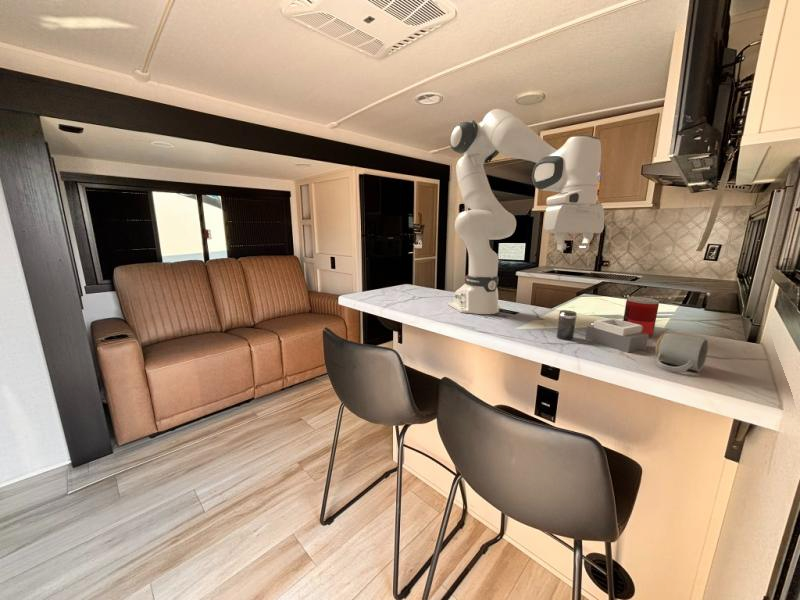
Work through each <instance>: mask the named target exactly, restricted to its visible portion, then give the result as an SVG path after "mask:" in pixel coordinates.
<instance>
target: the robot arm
mask: <svg viewBox="0 0 800 600" xmlns="http://www.w3.org/2000/svg"><path fill="white" fill-rule="evenodd" d="M449 144H450V148H451V149H452V150H453V151H454V152H455V153H458V154H460V155H463V156H462V157H460V158H459V159H458V160H457V162H456V165H455V171H456V181H457V184H458V189H459V191H460V195H461V199H462V201H463V204H464V206H466V207H467V208H468V209H469V210H465V211H461V212H459V214H458V215H457V216H456V219H455V222H454V230H455V232H456V235H457V236H458V237H459V238H460V239H461V240H462V241H463V243H464V245H465V247H466V250H467V254H468V255H467V256H468V274H467V275H463V276H464V278H463V279H465V281H464V284H463V285H462V286H461V287H459V288H457V290H456V291H455V292H454V295H453V296H454V297H453V300H452V301H448V303H447V305H448V306H450V307H452V308H453V309H455V310H456V311H458V312H460V313H463V314H464V313H465V314H477V315H493V314H494V315H495V314H498V313H499V312H500V308H501V307H500V305H499V289H498V287H497V286H498V285H499V276H498V272H499V271H498V270H499V255H498V253H496V252H495V251H494V250H493V248H491V244H490V240H495V241H496V240H503V239H506V238H509V237H511V236H512V235H513V234H514V233H515V231H516V227H517V219H516V217H515V215H514V214H512V213H511V212H510V211H508V210H506V208H504V206H503V205H502V204H501V202H499V200H498V199H497V198H496V196H495V194H494V193H493V191H492V188H491V186H490V182H489V179H488V177H487V174H486V172H485V168H484V164H488V163H491V162H492V160H493V159H495V158H496V157H497V156H498V155H499V154H502V155H504V156H506V157H509V158H513V159H518V160H519V159H520V160H526V161H528V162H532V163H536V164H535V165H534V167H533V170H532V172H531V180H532V184H533V186H534V187H535V188H536V189H538V190H540V191H544V192H545V191H547V192H551V193H555V192H556V193H557V194H554V195H551V196H548V197H547V198H546V199H545V200H546V206H547V208H546V209H545V214H544V224H543V228H544V231H545V232H546V234H554V239H555V243H556V250H558V251H566V249H567V243H565V239H564V238H565V237H566V234H582V237H583V240H582V242H581V243H579V244H580V245H579V249H580V250H589V249H590V243H591V242H592V240H593V238H594V234H602V233H603V230H604V229H605V209H604V207H603V204H602V203H601V201H600V200H597V199H598V190H599V183H598V182H599V181H598V175H599V171H600V170H601V163H602V144H601V140H600V139H599V138H598V137H597V136H594V135H589V134H587V135H585V134H581V135H580V134H579V135H574V136H573V135H572V136H570V137H569V138H567V140H566V141H565V143H564V144H563V145H562V146H560V148H556V147H555V146H553V145H552V144H550V143H549V142H547V141H546V140H545V139H543V138H542V137H541V136H539V135H538V134H537V133H536V132H535V131H534V130H532V128H530V127H529V126H528V125H527V124H525V123H524V122H523V121H522V120H521V119H519V118H518V117H517V116H516V115H514V114H513V113H511V112H510V111H507V110H504V109H502V108H494V109H491V110H489V112H487V113H486V114H485V116H484V117H483V119H482V121H481V122H476V121H475V120H470V121H469V120H467V121H463V122H459V123H457V124H456V125H455V126H453V128H452V131H451V132H450V136H449Z"/></svg>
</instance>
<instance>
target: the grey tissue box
mask: <svg viewBox="0 0 800 600" xmlns="http://www.w3.org/2000/svg"><path fill="white" fill-rule="evenodd" d="M641 328H642V325H639V324H634V323H630V322H626V321H623V319H618V318H613V317H611V318H604V319H598V320H594V322H591V324H590V325H587V326H586V332H585V333H586V334H585V340H589V341H591V342H595V343H598V344H599V345H604V346H607V347H610V348H613V349H616V350H619V351H622V352H626V353H632V352H637V351H641V350H645V349H647V347H648V346H647V345H648V340H649V337H648V336H649V334H645V333H642V332H641Z"/></svg>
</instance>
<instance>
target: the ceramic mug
mask: <svg viewBox="0 0 800 600" xmlns="http://www.w3.org/2000/svg"><path fill="white" fill-rule="evenodd" d="M654 350H655V352H654V353H655V358H656V363H657V366H658V367H659V368H660V369H662V370H664V371H667V372H669V373H670V372H671V373H684V372H687V371H688V370H691V371H694V372H700V371H701V370H702V369H703V367H704V365H705V363H706V361H707V356H708V352H709V351H708V350H709V341H708V339H707V338H705V337H701V336H700V337H698V336H692V335H691V336H690V335H683V334H678V333H669V332H668V333H663V334H661V335H660V336H659V338H658V339H657V341H656V345H655V349H654ZM663 362H664V363H665V364H664V363H663ZM667 364H670V365H667ZM671 365H673V366H671Z"/></svg>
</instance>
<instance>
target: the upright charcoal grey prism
mask: <svg viewBox="0 0 800 600" xmlns="http://www.w3.org/2000/svg"><path fill="white" fill-rule="evenodd" d="M558 316H559V317H558V323H557V329H556V330H557V331H556V338H557V339H559V340H563V341H573V340H574V336H575V326H576V320H577V312H575V311H573V310H567V309H566V310H565V309H562V310H559V313H558Z"/></svg>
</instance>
